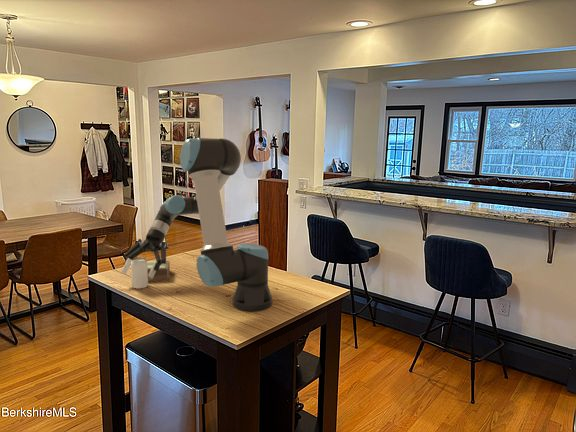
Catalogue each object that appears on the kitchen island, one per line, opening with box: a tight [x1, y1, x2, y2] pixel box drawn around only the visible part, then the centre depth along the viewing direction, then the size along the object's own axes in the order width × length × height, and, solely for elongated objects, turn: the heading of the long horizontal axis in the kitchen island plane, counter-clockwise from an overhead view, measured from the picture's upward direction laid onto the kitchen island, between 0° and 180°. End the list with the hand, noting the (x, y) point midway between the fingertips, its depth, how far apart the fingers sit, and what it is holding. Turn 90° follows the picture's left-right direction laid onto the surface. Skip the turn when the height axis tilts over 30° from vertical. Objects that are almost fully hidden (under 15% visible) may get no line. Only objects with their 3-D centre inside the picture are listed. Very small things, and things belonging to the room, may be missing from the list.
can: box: [130, 256, 149, 290], centre depth 175 cm, size 6×6×12 cm
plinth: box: [146, 260, 171, 282], centre depth 189 cm, size 13×11×5 cm
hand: (136, 275), depth 173 cm, fingers open, 13 cm apart
